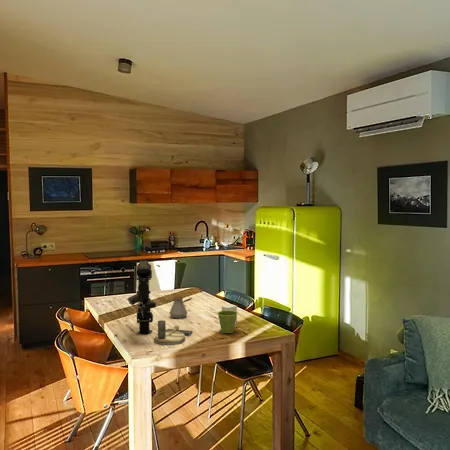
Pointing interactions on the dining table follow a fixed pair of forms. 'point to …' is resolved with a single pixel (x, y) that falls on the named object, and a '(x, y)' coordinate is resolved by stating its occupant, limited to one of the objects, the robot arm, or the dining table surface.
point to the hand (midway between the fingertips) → (144, 317)
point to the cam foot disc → (168, 334)
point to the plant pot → (227, 321)
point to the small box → (230, 308)
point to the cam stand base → (186, 333)
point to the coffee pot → (179, 308)
